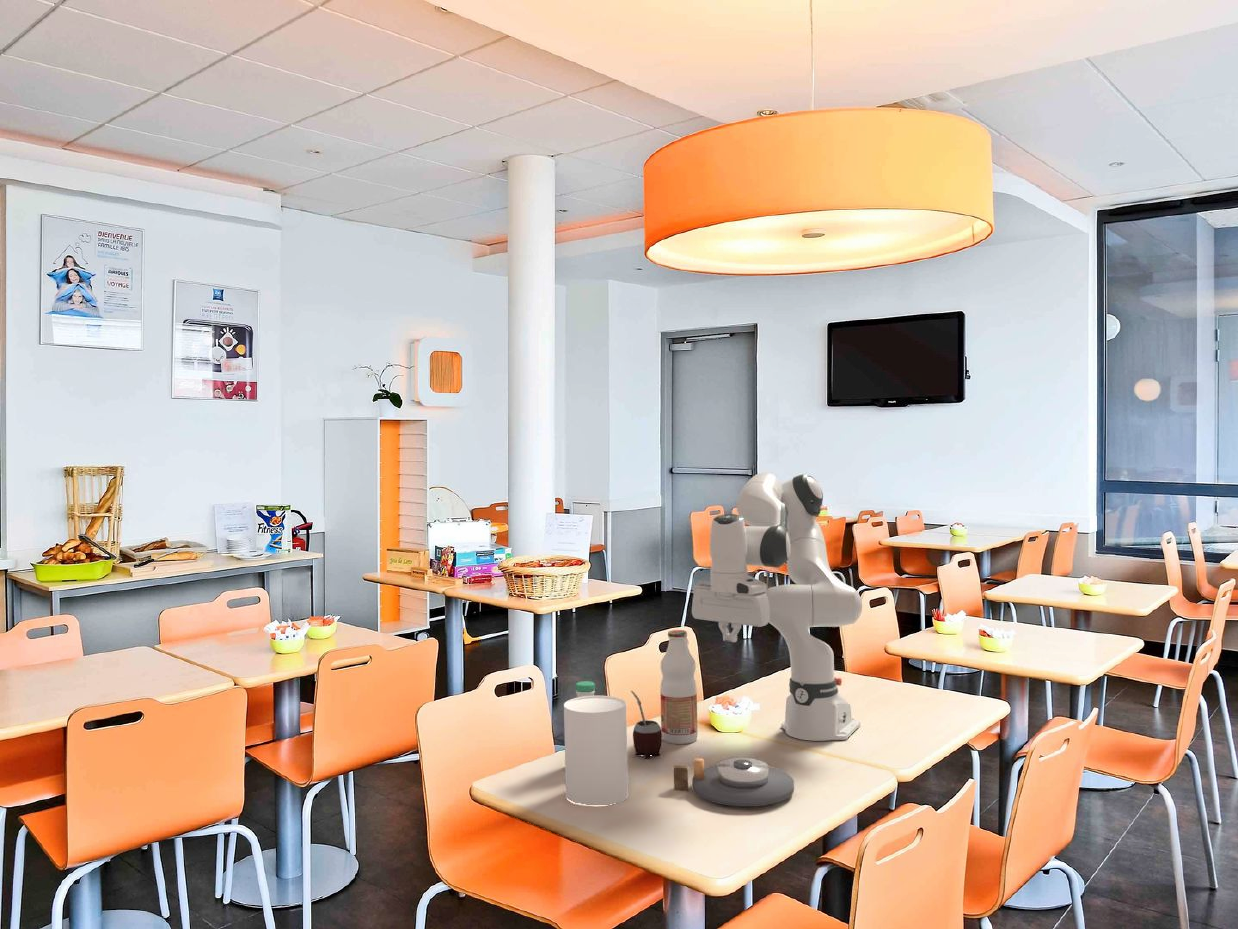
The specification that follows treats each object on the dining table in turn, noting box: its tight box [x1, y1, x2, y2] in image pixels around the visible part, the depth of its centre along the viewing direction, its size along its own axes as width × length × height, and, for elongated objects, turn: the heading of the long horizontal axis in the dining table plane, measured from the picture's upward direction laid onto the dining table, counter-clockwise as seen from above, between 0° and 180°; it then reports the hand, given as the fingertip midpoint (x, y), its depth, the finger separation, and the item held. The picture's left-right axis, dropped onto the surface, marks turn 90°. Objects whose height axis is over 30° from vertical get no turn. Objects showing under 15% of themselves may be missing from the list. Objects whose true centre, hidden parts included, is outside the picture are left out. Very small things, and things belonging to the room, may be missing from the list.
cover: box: [717, 757, 769, 789], centre depth 202 cm, size 11×11×4 cm
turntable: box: [691, 757, 795, 807], centre depth 202 cm, size 22×22×6 cm
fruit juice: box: [659, 629, 699, 745], centre depth 239 cm, size 9×9×28 cm
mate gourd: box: [630, 690, 663, 761], centre depth 227 cm, size 8×8×15 cm
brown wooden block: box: [673, 764, 689, 792], centre depth 204 cm, size 3×2×5 cm, turn 81°
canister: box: [563, 695, 629, 806], centre depth 202 cm, size 14×14×20 cm
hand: (730, 641), depth 220 cm, fingers closed
